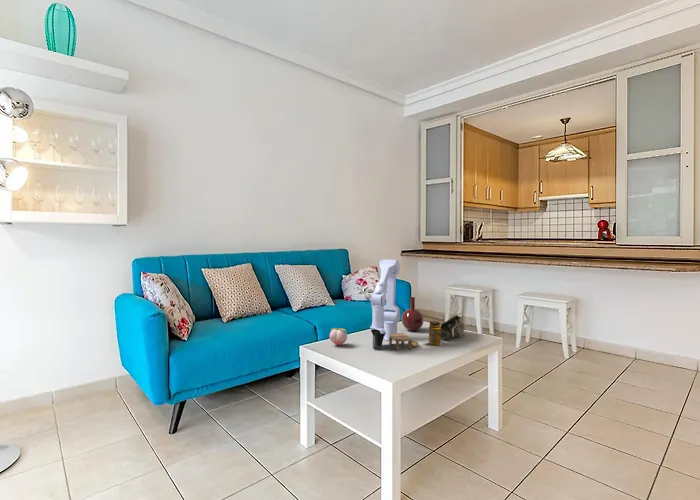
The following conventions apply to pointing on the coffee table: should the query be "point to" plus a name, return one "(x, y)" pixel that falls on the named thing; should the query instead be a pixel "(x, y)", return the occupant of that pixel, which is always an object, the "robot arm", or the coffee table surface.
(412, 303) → the round-bottom flask
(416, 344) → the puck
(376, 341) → the dark grey mallet
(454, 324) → the hollow geode rock
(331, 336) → the decorative fruit
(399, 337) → the stand
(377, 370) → the coffee table surface
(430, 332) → the condiment
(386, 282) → the robot arm
